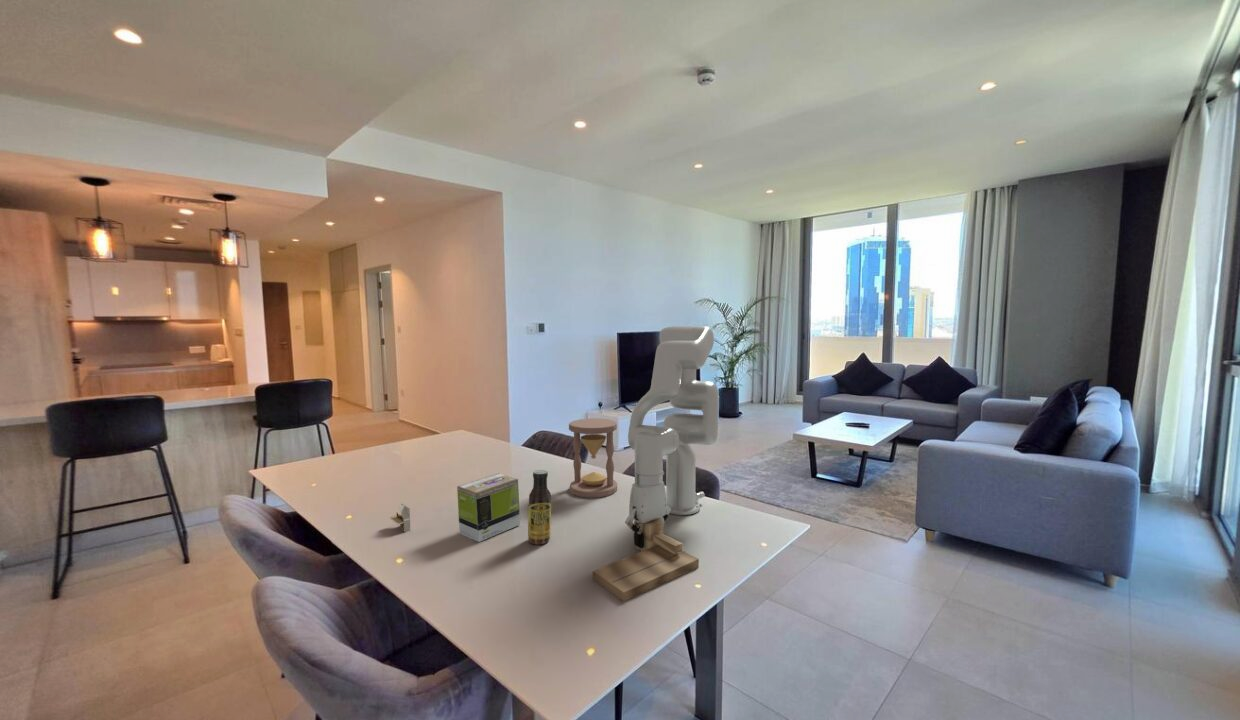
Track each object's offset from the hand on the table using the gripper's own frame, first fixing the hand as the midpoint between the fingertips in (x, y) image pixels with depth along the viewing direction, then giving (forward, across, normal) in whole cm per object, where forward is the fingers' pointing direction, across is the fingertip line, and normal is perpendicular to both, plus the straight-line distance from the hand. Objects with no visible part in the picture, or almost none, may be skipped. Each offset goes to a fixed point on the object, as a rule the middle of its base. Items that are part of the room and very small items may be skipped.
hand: (648, 542), depth 130 cm
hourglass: (+2, -15, -48) cm, 50 cm away
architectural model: (+2, +49, -56) cm, 74 cm away
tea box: (+2, +29, -39) cm, 48 cm away
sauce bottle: (+2, +21, -23) cm, 31 cm away
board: (+2, +9, +9) cm, 13 cm away
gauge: (+2, 0, +4) cm, 5 cm away
